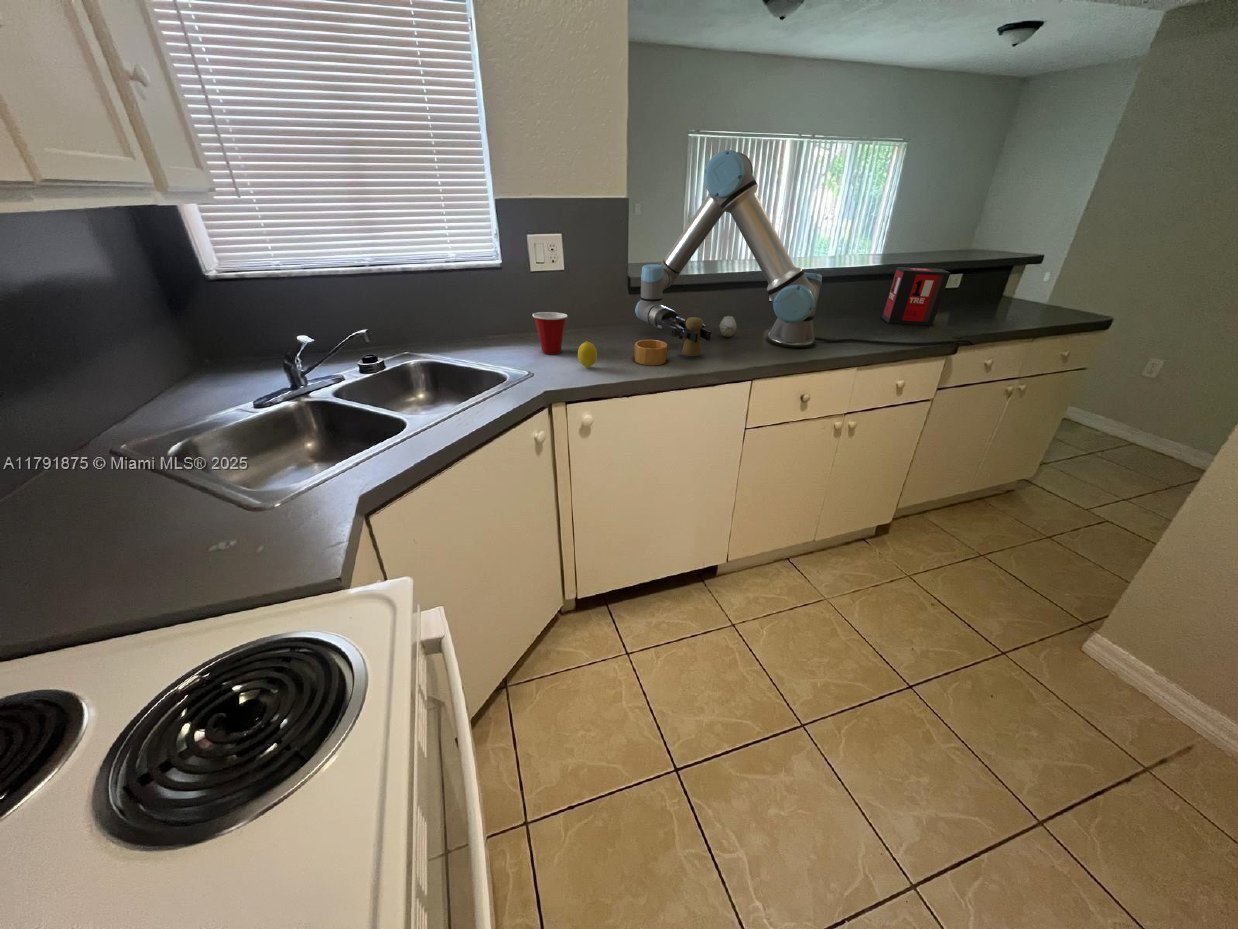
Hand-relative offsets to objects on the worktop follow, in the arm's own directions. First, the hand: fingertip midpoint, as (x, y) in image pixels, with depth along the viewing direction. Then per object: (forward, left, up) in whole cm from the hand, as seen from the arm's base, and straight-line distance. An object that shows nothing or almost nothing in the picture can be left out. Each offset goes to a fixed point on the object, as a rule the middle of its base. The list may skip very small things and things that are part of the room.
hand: (703, 337), depth 146 cm
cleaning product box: (-80, -72, -8) cm, 108 cm away
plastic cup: (+47, +3, -8) cm, 48 cm away
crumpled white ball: (-8, -30, -8) cm, 32 cm away
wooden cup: (+15, +3, -8) cm, 17 cm away
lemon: (+32, +15, -8) cm, 36 cm away
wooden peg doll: (+3, -4, -7) cm, 9 cm away
